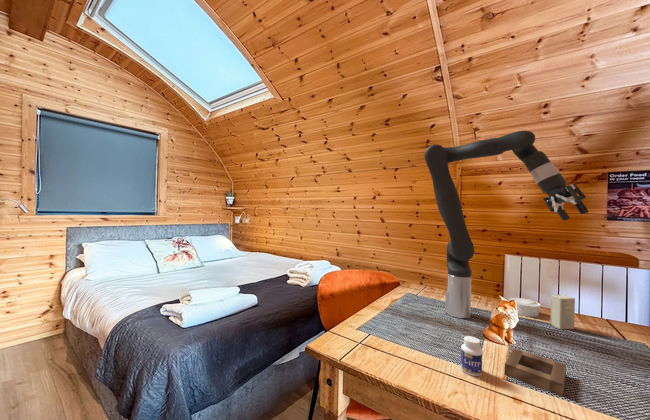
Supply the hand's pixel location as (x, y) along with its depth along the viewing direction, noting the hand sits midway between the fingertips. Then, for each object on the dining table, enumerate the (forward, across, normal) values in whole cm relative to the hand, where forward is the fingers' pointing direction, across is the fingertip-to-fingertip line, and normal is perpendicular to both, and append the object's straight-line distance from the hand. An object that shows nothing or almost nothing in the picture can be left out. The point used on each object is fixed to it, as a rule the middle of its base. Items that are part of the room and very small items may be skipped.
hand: (575, 216), depth 94 cm
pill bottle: (+28, +12, -59) cm, 67 cm away
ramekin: (+31, -38, -15) cm, 52 cm away
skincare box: (+37, -26, -11) cm, 47 cm away
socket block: (+35, +11, -43) cm, 56 cm away
